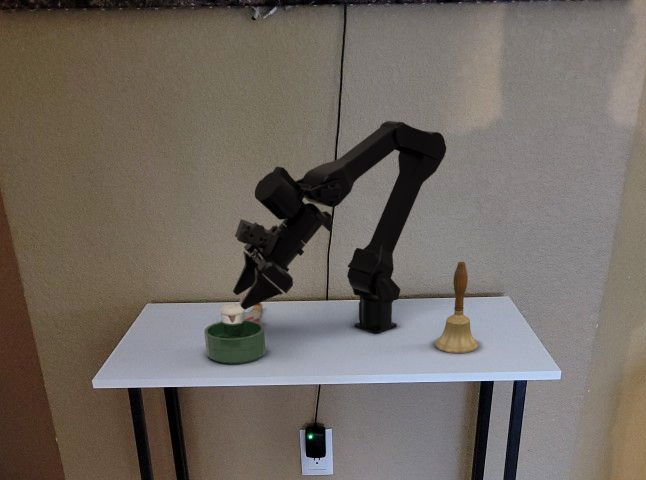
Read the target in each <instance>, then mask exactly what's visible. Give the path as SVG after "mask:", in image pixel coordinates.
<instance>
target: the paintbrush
mask: <svg viewBox="0 0 646 480" xmlns="http://www.w3.org/2000/svg"><path fill="white" fill-rule="evenodd" d="M263 307H264V306H263V302H260V303H258V304H256V305H254V306H252V309H251V311H245V320H249V321H255V322H258V323H260V324H262V325H263V324H264V323H263V320H262V310H263ZM263 326H264V325H263Z"/></svg>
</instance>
